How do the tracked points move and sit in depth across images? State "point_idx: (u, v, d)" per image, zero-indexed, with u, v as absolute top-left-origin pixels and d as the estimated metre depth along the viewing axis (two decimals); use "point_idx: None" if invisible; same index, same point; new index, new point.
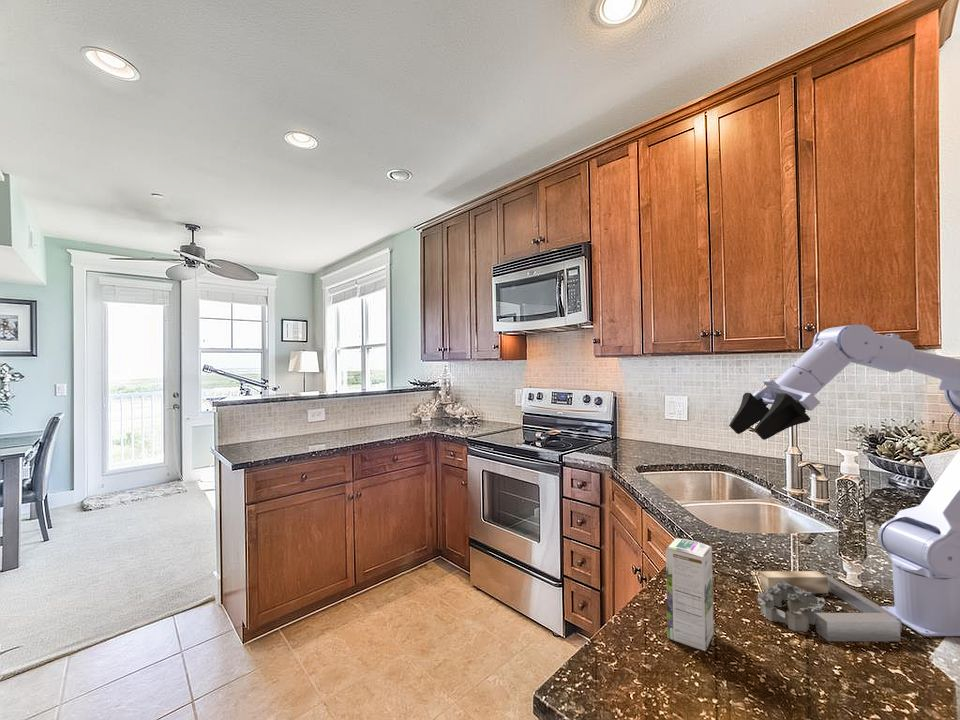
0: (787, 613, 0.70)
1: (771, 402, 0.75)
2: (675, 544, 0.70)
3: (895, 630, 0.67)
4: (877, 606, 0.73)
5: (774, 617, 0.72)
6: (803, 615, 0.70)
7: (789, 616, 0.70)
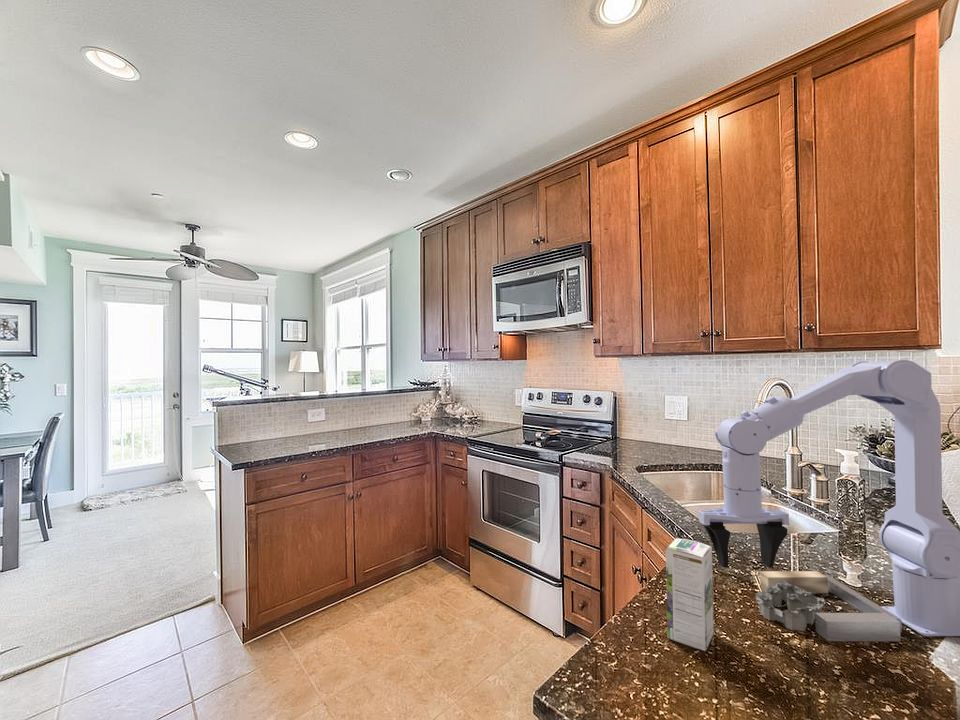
0: (784, 612, 0.71)
1: (751, 522, 0.75)
2: (675, 544, 0.70)
3: (895, 630, 0.67)
4: (877, 606, 0.73)
5: (772, 616, 0.73)
6: (800, 614, 0.70)
7: (786, 615, 0.71)
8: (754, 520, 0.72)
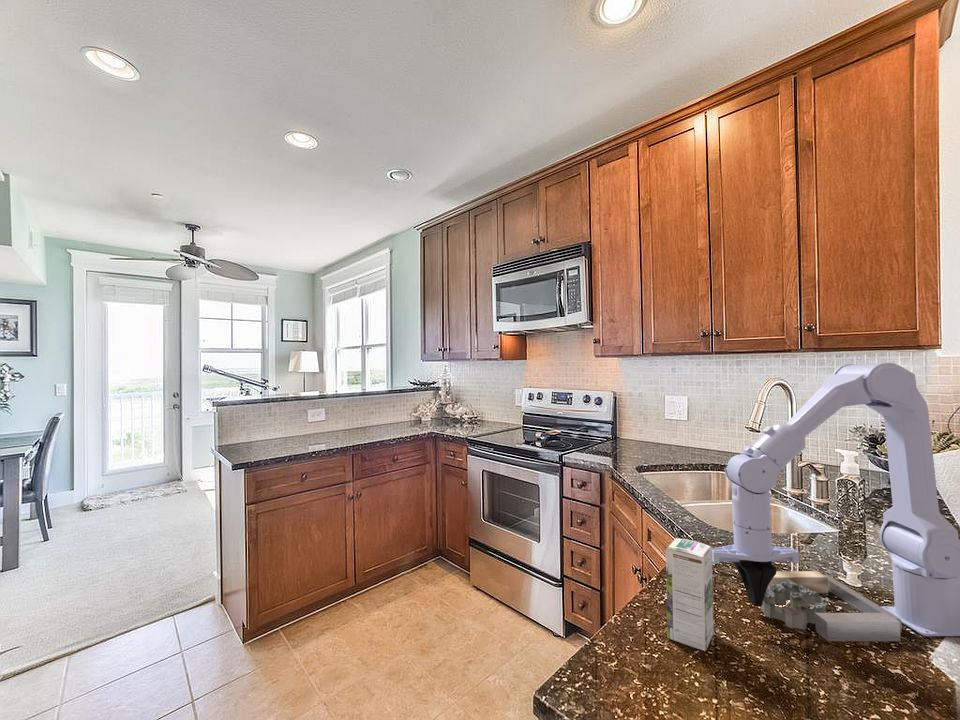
0: (784, 609, 0.71)
1: None
2: (674, 544, 0.70)
3: (895, 630, 0.67)
4: (877, 606, 0.73)
5: (773, 613, 0.73)
6: (801, 612, 0.70)
7: (786, 612, 0.71)
8: (764, 559, 0.72)
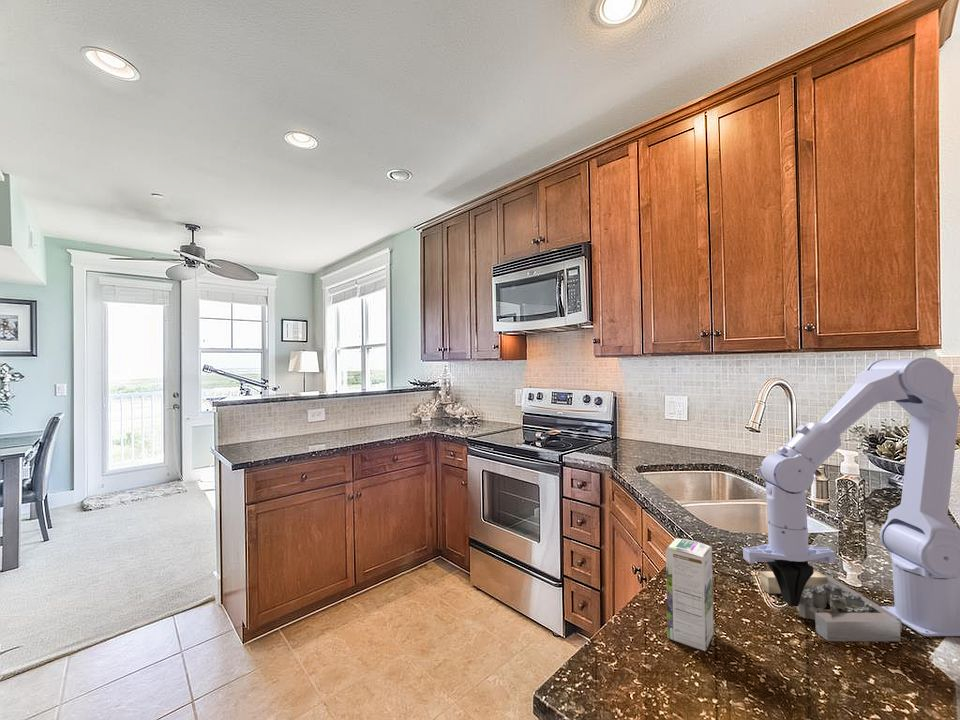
0: (819, 610, 0.71)
1: None
2: (675, 544, 0.70)
3: (895, 630, 0.67)
4: (877, 606, 0.73)
5: (808, 613, 0.73)
6: None
7: None
8: (801, 559, 0.72)
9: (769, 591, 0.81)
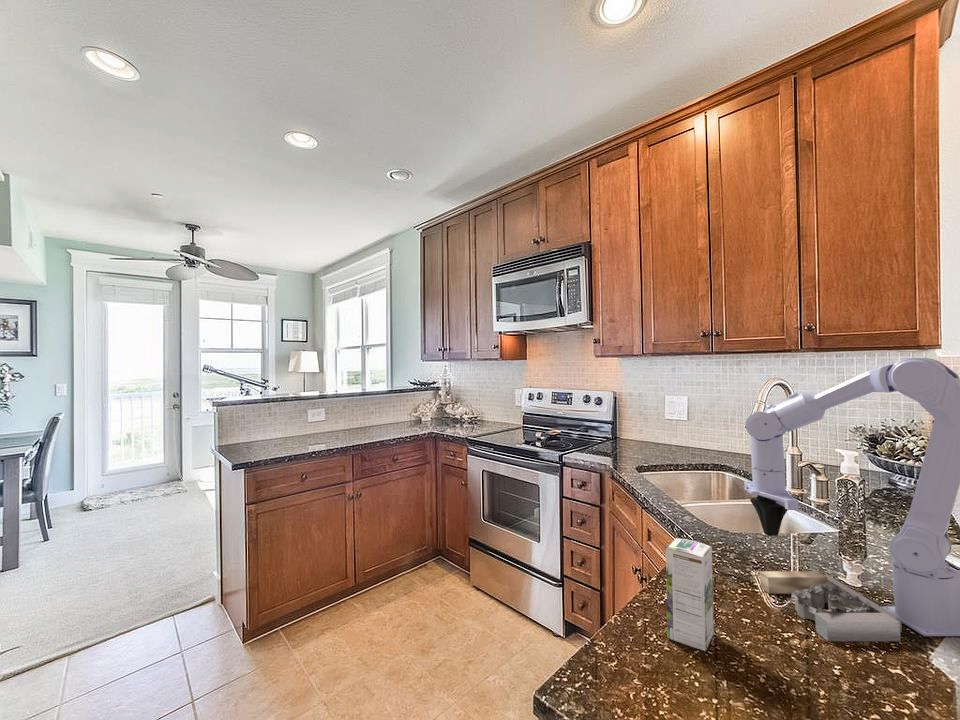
0: (818, 610, 0.71)
1: (764, 497, 0.91)
2: (674, 544, 0.70)
3: (895, 630, 0.67)
4: (877, 606, 0.73)
5: (807, 614, 0.73)
6: None
7: None
8: None
9: (769, 591, 0.81)
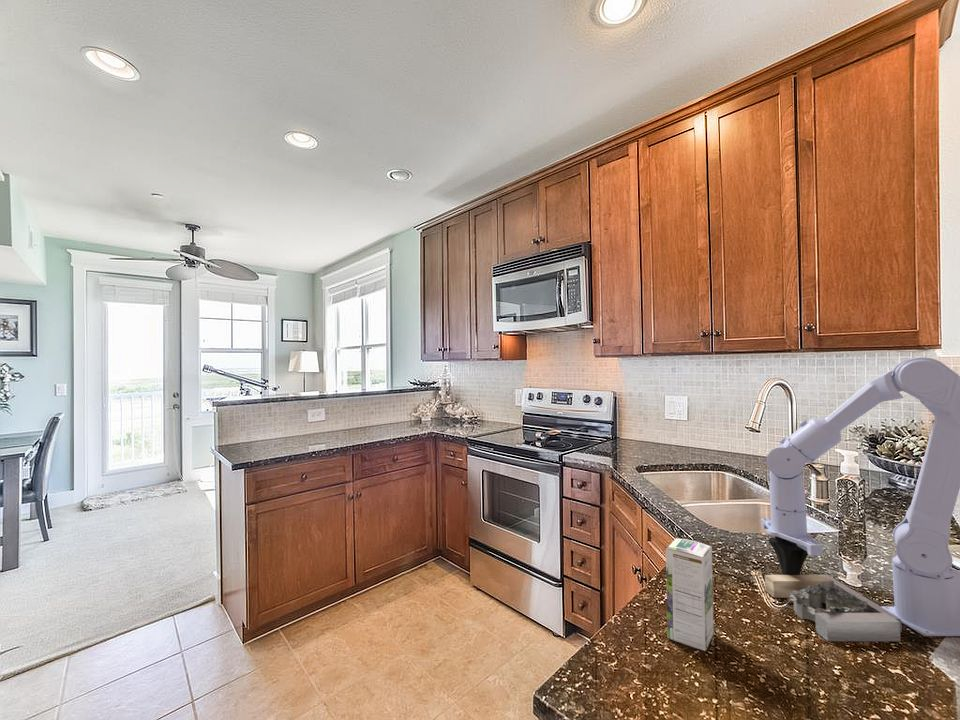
0: (817, 610, 0.71)
1: None
2: (674, 544, 0.70)
3: (895, 630, 0.67)
4: (877, 606, 0.73)
5: (805, 614, 0.73)
6: None
7: None
8: None
9: (774, 595, 0.80)
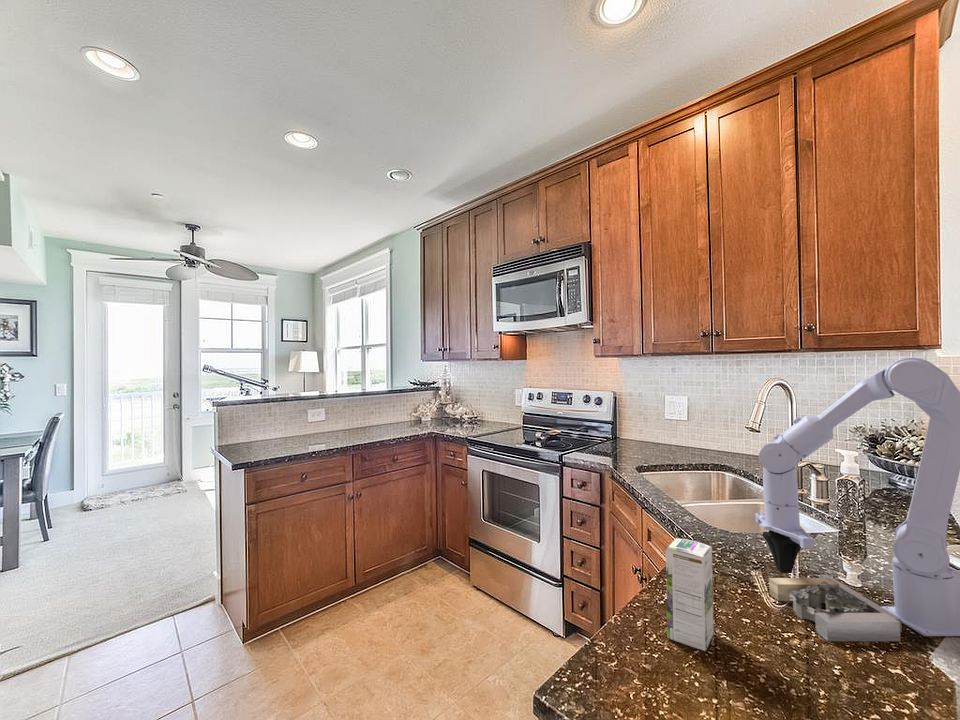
0: (816, 610, 0.71)
1: None
2: (675, 544, 0.70)
3: (895, 630, 0.67)
4: (877, 606, 0.73)
5: (805, 614, 0.73)
6: None
7: None
8: None
9: (779, 599, 0.79)
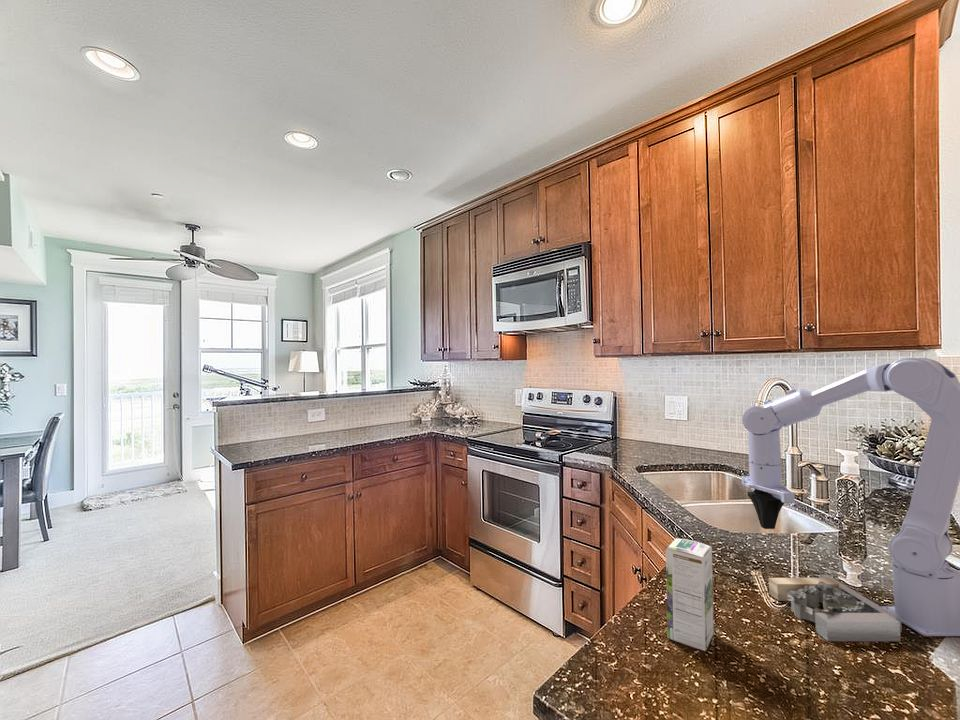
0: (814, 610, 0.71)
1: (761, 490, 0.92)
2: (674, 544, 0.70)
3: (895, 630, 0.67)
4: (877, 606, 0.73)
5: (803, 614, 0.73)
6: None
7: None
8: None
9: (778, 598, 0.79)
